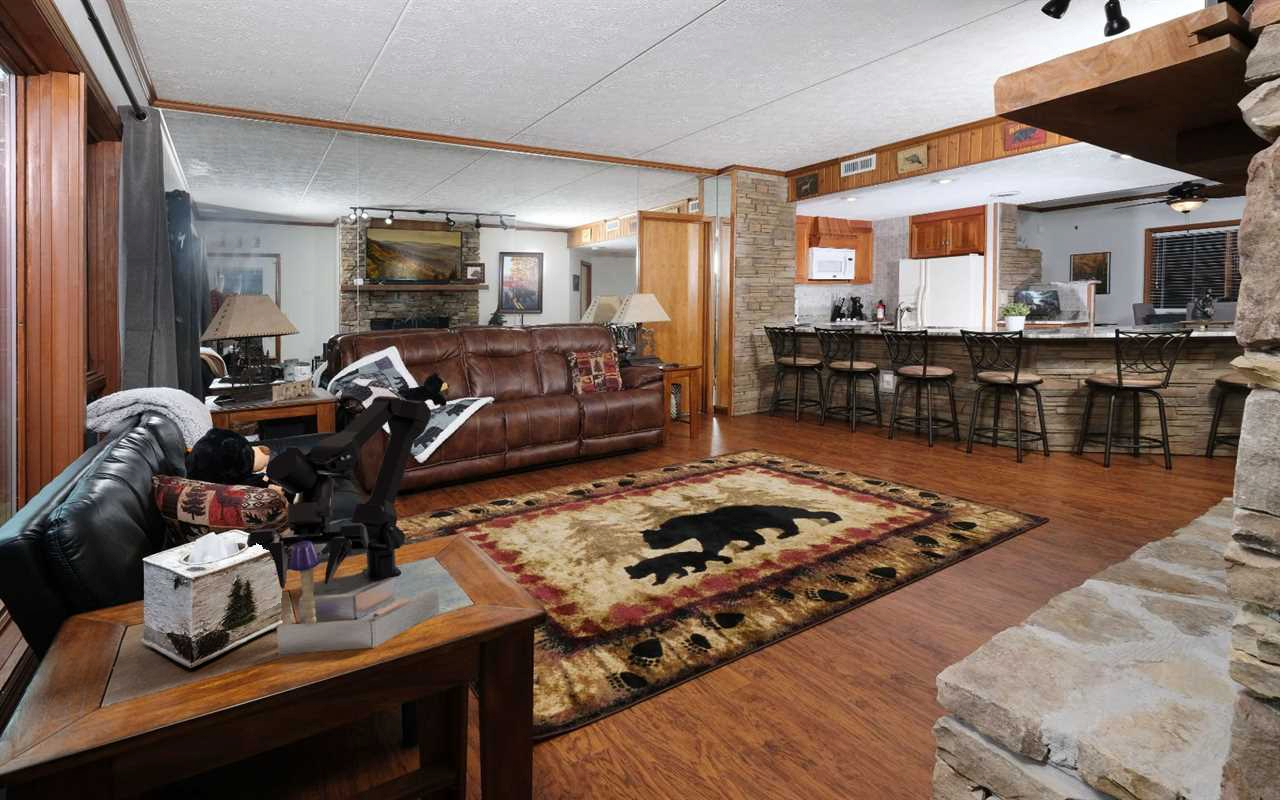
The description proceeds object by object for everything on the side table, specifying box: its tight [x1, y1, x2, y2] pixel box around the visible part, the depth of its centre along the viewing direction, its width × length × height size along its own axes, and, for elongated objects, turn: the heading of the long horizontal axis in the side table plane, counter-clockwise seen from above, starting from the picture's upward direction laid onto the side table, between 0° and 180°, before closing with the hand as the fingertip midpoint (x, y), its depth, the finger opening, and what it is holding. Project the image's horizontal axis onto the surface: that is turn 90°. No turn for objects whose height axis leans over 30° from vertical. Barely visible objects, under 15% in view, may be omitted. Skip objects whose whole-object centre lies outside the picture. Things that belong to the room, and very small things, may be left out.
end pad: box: [373, 598, 409, 617], centre depth 128 cm, size 7×7×1 cm
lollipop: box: [288, 531, 328, 594], centre depth 135 cm, size 7×7×15 cm
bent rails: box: [276, 576, 440, 655], centre depth 121 cm, size 18×27×4 cm, turn 126°
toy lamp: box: [288, 541, 320, 623], centre depth 118 cm, size 5×5×17 cm
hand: (304, 585), depth 116 cm, fingers open, 7 cm apart
